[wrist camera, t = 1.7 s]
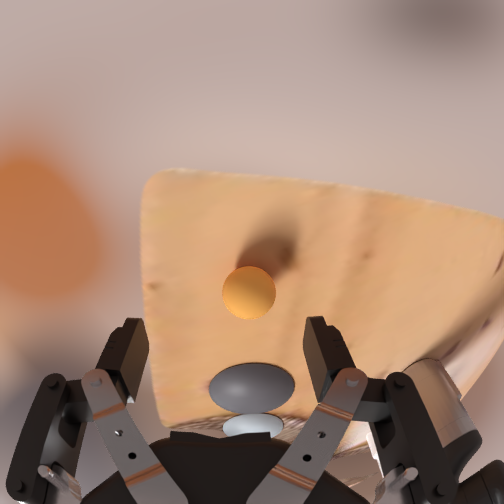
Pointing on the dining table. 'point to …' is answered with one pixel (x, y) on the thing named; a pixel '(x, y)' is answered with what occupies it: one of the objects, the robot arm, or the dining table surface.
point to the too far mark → (253, 424)
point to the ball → (249, 292)
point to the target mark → (251, 388)
